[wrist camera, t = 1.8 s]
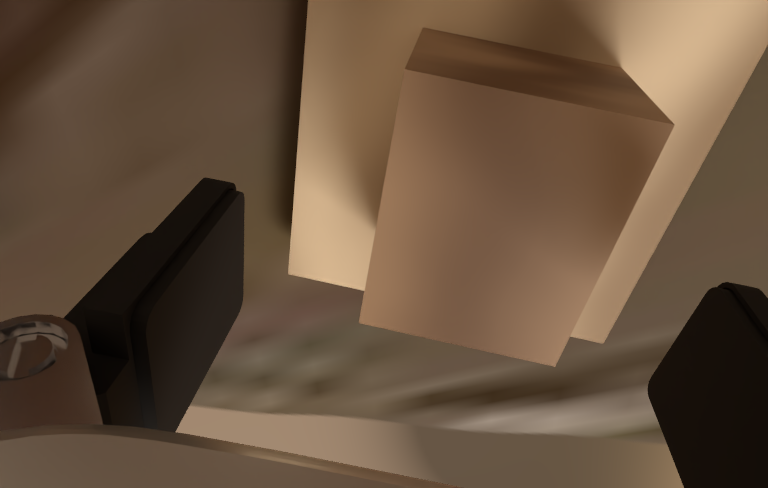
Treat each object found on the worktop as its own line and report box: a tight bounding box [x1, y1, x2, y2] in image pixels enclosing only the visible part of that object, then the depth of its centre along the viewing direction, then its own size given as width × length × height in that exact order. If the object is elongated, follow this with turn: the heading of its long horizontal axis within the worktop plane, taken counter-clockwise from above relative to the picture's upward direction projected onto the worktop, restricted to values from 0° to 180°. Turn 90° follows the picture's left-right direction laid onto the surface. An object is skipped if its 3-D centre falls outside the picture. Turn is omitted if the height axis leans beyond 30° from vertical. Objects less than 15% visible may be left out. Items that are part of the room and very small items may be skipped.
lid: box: [288, 0, 768, 367], centre depth 15 cm, size 12×12×5 cm
